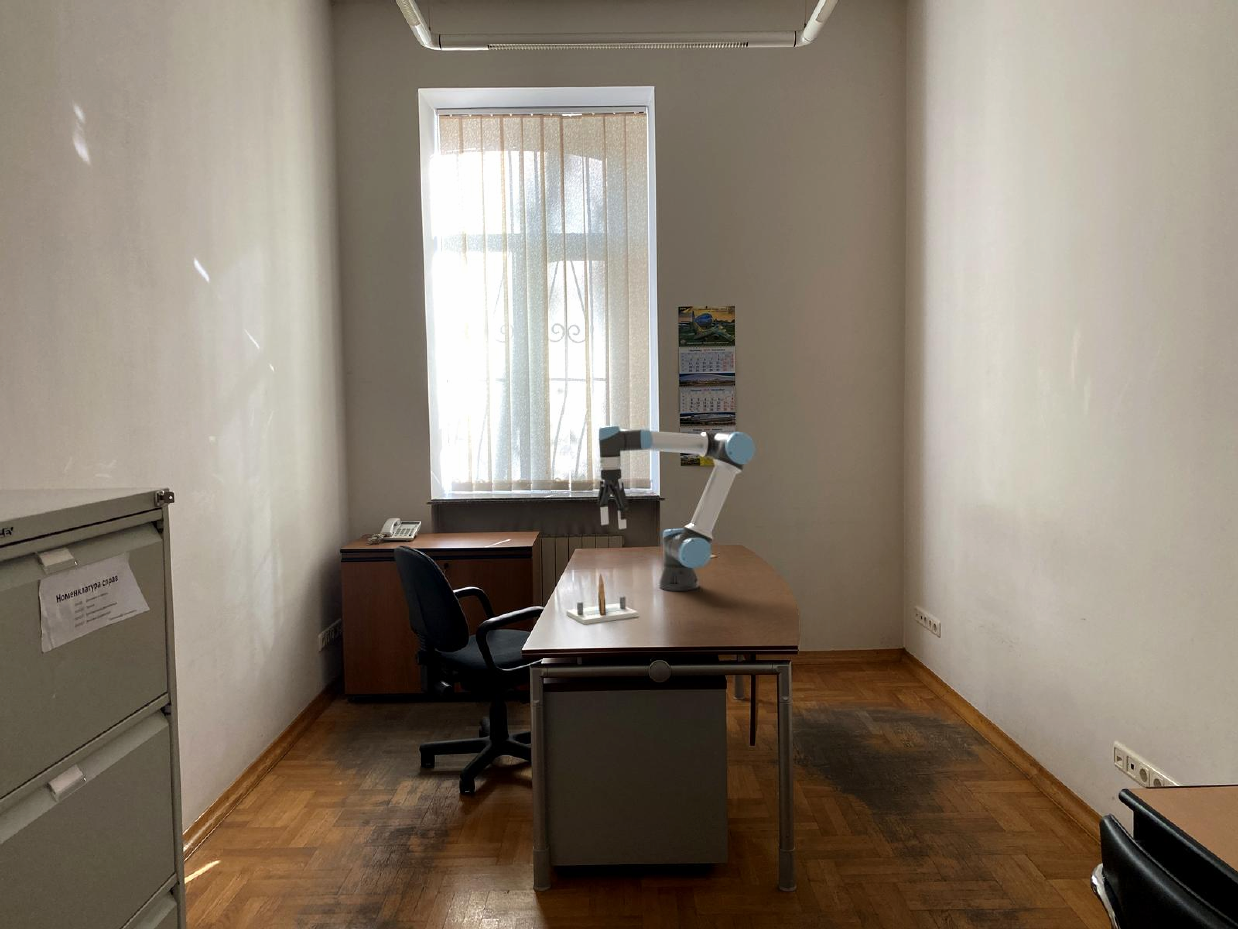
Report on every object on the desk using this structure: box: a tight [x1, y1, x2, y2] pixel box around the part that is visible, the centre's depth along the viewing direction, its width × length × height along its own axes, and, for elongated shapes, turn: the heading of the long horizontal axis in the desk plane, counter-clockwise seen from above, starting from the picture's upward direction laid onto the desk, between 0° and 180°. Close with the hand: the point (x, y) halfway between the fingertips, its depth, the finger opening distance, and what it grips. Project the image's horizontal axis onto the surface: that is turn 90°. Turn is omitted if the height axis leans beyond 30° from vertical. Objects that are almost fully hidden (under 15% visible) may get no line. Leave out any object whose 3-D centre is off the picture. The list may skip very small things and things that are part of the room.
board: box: [565, 595, 639, 625], centre depth 293 cm, size 20×15×6 cm
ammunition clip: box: [597, 573, 606, 615], centre depth 293 cm, size 11×2×12 cm, turn 4°
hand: (613, 526), depth 313 cm, fingers open, 13 cm apart
